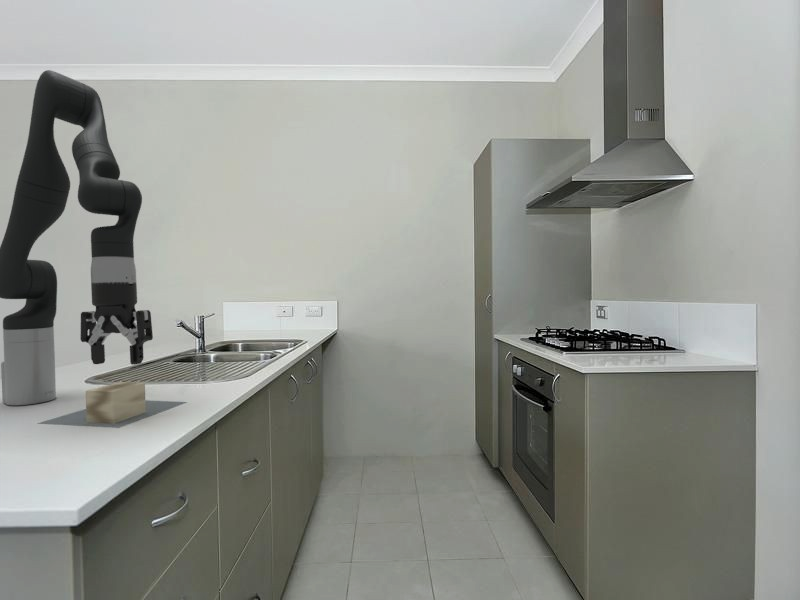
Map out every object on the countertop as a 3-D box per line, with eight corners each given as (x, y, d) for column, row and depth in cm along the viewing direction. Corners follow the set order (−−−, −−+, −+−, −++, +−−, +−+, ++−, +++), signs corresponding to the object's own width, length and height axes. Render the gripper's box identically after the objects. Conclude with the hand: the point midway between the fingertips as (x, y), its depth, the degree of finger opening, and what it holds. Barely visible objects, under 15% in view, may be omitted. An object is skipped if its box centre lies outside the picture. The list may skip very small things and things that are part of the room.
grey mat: (37, 425, 86) (37, 423, 86) (118, 401, 105) (118, 399, 105) (118, 430, 82) (118, 427, 82) (187, 404, 101) (187, 401, 101)
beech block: (86, 422, 86) (85, 390, 86) (120, 411, 94) (119, 382, 94) (113, 423, 85) (112, 391, 85) (145, 412, 93) (144, 382, 93)
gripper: (66, 282, 87) (69, 367, 87) (130, 279, 84) (134, 367, 84) (99, 282, 94) (102, 360, 94) (159, 280, 91) (163, 361, 92)
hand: (117, 363), depth 89 cm, fingers open, 8 cm apart
